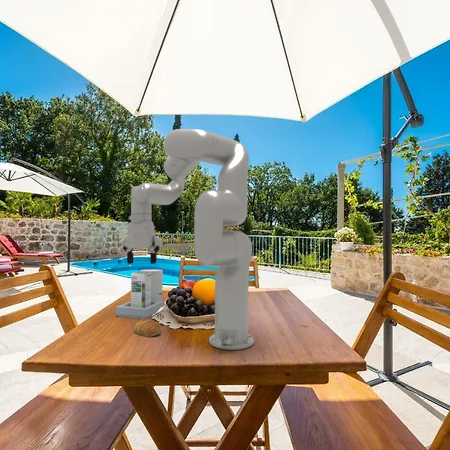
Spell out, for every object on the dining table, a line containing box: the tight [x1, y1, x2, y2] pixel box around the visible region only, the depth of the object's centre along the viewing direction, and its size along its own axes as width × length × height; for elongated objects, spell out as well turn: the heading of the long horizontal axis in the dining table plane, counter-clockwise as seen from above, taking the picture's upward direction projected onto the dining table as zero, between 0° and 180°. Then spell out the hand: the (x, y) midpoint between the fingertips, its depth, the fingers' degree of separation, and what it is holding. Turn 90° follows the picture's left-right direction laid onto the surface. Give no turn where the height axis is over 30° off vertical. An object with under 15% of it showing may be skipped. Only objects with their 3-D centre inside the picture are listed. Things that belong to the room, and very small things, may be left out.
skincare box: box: [140, 269, 164, 302], centre depth 136 cm, size 8×6×15 cm
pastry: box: [133, 318, 162, 338], centre depth 98 cm, size 9×7×4 cm
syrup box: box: [130, 271, 151, 308], centre depth 121 cm, size 6×6×14 cm
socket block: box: [114, 300, 165, 320], centre depth 121 cm, size 13×13×4 cm
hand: (141, 263), depth 121 cm, fingers open, 9 cm apart
